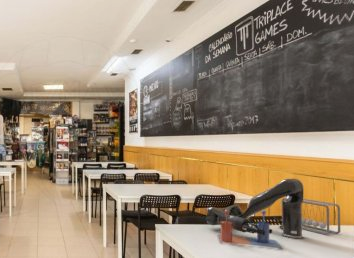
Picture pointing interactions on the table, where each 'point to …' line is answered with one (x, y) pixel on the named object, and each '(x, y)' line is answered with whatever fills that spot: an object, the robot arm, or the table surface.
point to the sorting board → (252, 241)
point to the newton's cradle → (316, 223)
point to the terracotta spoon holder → (226, 230)
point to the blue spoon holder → (264, 227)
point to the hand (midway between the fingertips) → (268, 232)
